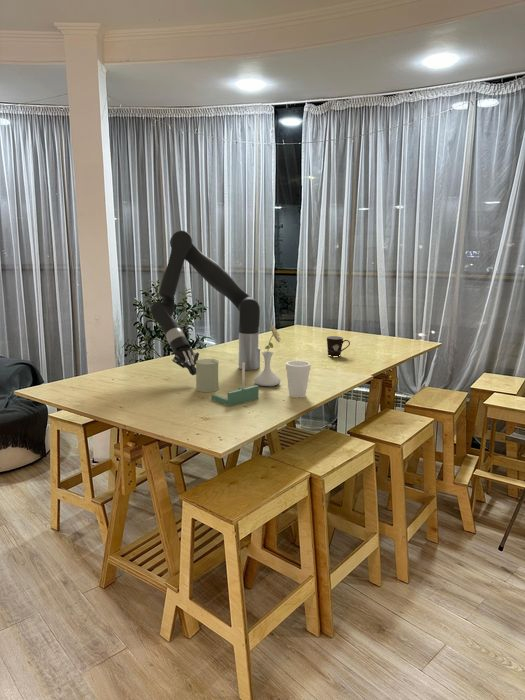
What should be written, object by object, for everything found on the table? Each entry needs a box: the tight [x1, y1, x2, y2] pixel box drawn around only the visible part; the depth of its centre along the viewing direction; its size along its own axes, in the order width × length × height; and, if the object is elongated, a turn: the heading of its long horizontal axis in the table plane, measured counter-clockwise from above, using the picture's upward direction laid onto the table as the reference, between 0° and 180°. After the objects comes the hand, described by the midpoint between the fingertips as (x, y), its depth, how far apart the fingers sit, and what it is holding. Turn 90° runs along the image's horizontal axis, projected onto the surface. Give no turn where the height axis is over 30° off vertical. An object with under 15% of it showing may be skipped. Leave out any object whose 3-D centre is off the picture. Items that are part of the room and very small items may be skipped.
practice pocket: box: [211, 363, 260, 407], centre depth 188 cm, size 11×14×15 cm
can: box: [195, 358, 220, 393], centre depth 201 cm, size 9×9×12 cm
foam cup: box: [285, 360, 312, 398], centre depth 193 cm, size 10×9×13 cm
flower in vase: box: [253, 325, 282, 387], centre depth 207 cm, size 13×11×25 cm
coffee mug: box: [326, 335, 351, 356], centre depth 261 cm, size 12×9×10 cm
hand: (194, 374), depth 207 cm, fingers closed
